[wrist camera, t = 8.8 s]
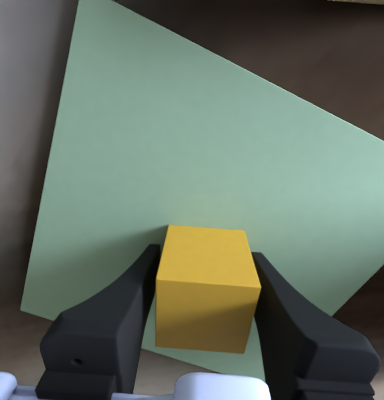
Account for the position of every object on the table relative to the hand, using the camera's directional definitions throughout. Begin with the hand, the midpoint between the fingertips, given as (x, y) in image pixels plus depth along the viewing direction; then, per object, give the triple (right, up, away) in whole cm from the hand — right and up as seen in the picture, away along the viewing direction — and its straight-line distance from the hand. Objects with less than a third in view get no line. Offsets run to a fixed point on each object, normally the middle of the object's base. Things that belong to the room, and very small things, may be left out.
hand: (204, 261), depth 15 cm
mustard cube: (0, 0, 0) cm, 0 cm away
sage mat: (0, 0, +1) cm, 1 cm away
